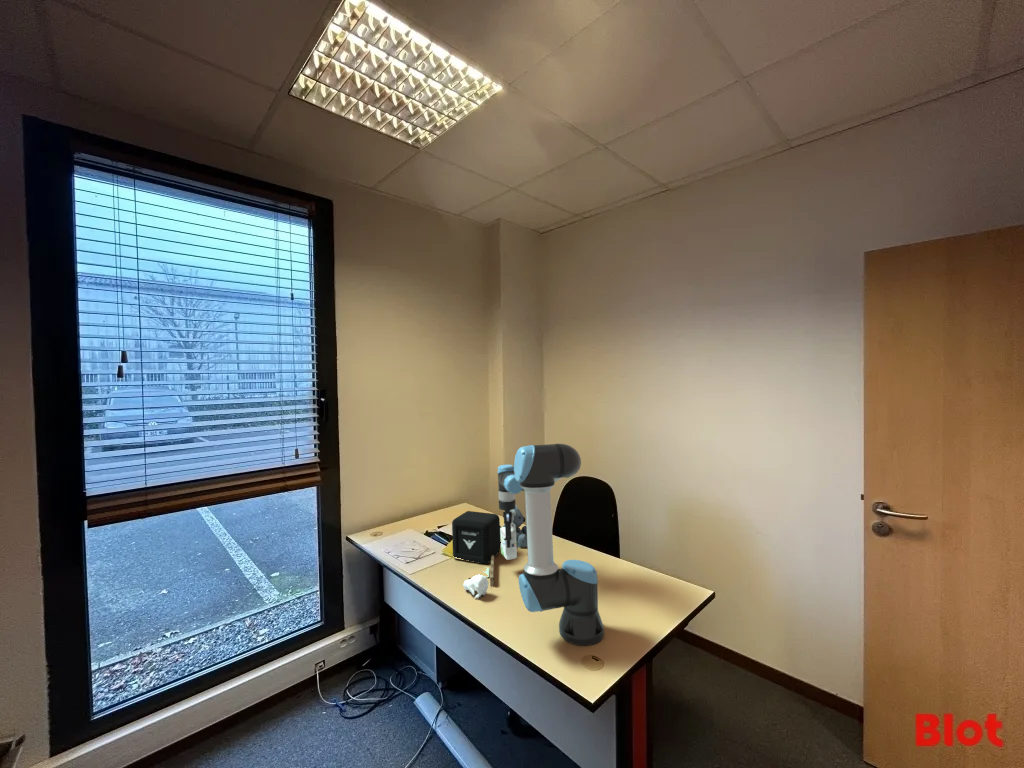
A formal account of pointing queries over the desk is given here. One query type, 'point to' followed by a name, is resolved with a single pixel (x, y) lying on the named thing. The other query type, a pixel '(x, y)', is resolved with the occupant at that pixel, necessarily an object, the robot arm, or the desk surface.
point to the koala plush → (520, 533)
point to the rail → (492, 570)
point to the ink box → (514, 546)
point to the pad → (487, 572)
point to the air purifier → (476, 536)
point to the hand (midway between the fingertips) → (508, 549)
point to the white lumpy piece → (477, 585)
